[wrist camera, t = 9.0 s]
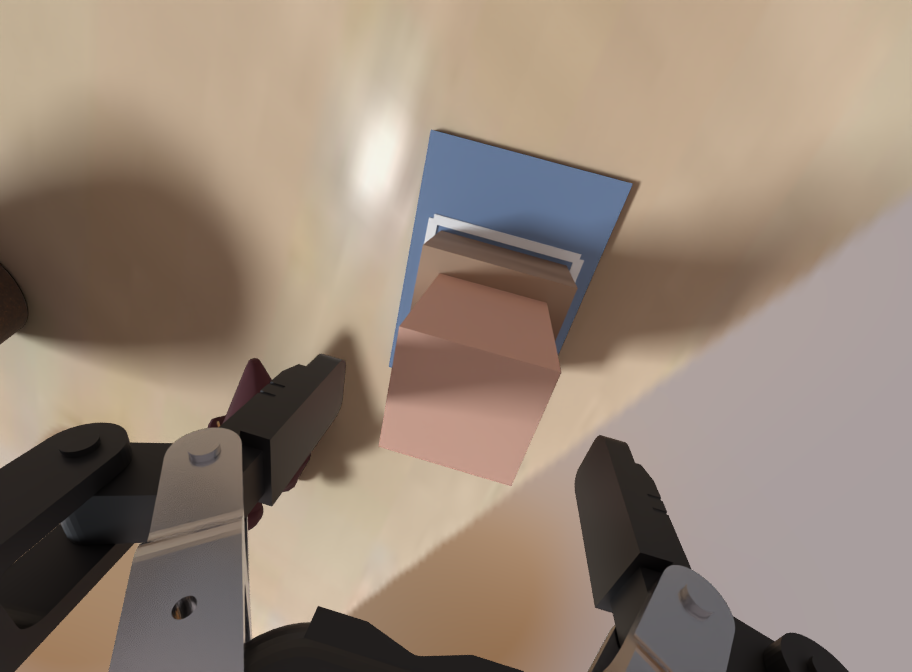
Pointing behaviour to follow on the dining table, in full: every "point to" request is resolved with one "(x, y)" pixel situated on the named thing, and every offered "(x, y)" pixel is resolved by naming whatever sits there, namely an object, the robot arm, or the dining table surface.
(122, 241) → the dining table surface
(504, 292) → the terracotta block
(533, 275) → the walnut base
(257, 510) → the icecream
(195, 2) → the dining table surface
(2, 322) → the plant pot
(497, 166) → the blueprint mat
